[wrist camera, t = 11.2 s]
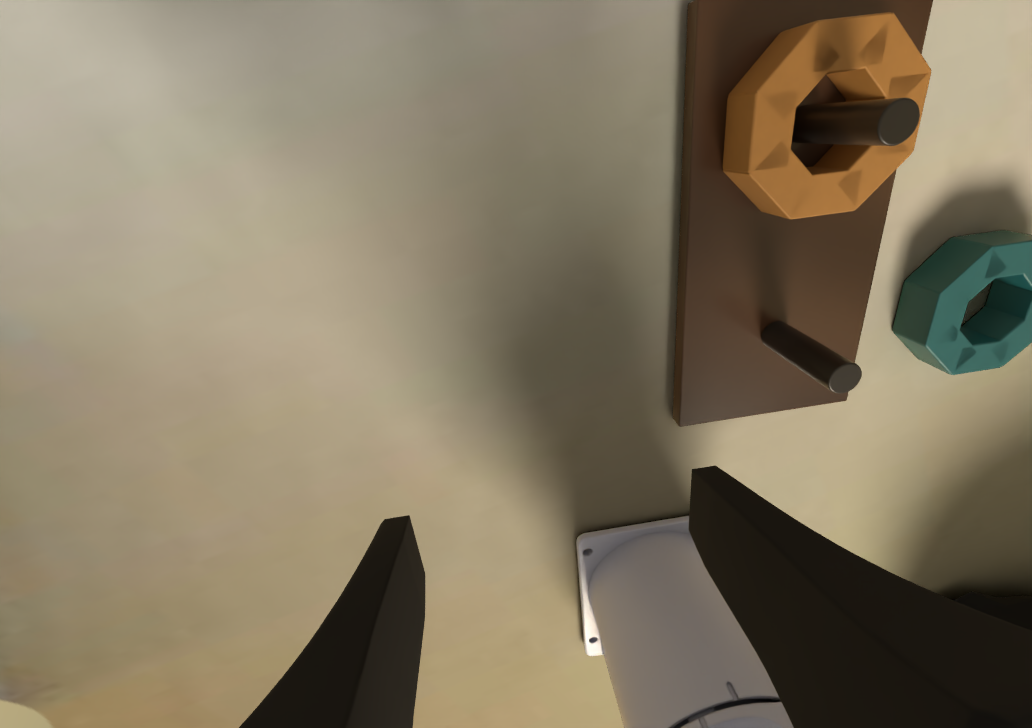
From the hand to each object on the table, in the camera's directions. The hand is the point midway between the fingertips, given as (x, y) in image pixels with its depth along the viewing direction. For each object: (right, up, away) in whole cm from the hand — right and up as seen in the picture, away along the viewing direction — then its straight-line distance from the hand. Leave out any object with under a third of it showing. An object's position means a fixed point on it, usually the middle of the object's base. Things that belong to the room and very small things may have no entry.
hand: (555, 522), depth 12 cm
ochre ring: (+9, +12, +5) cm, 16 cm away
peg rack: (+9, +9, +7) cm, 15 cm away
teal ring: (+19, +7, +9) cm, 22 cm away
